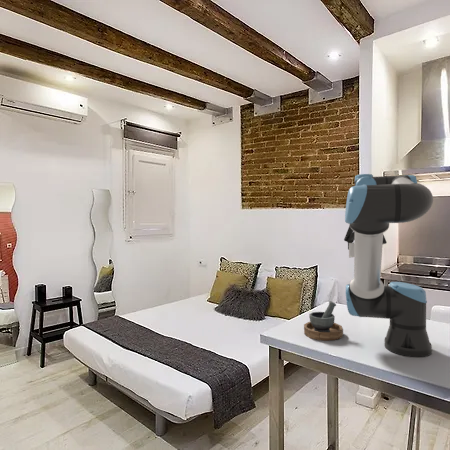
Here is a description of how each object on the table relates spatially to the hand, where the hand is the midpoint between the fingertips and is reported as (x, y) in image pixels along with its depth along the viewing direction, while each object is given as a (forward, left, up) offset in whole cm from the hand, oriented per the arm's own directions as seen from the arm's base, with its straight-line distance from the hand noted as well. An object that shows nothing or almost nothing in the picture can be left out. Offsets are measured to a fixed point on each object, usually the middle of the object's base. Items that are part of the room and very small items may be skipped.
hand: (364, 259), depth 154 cm
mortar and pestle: (-4, +24, -28) cm, 37 cm away
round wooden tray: (-4, +24, -29) cm, 38 cm away
